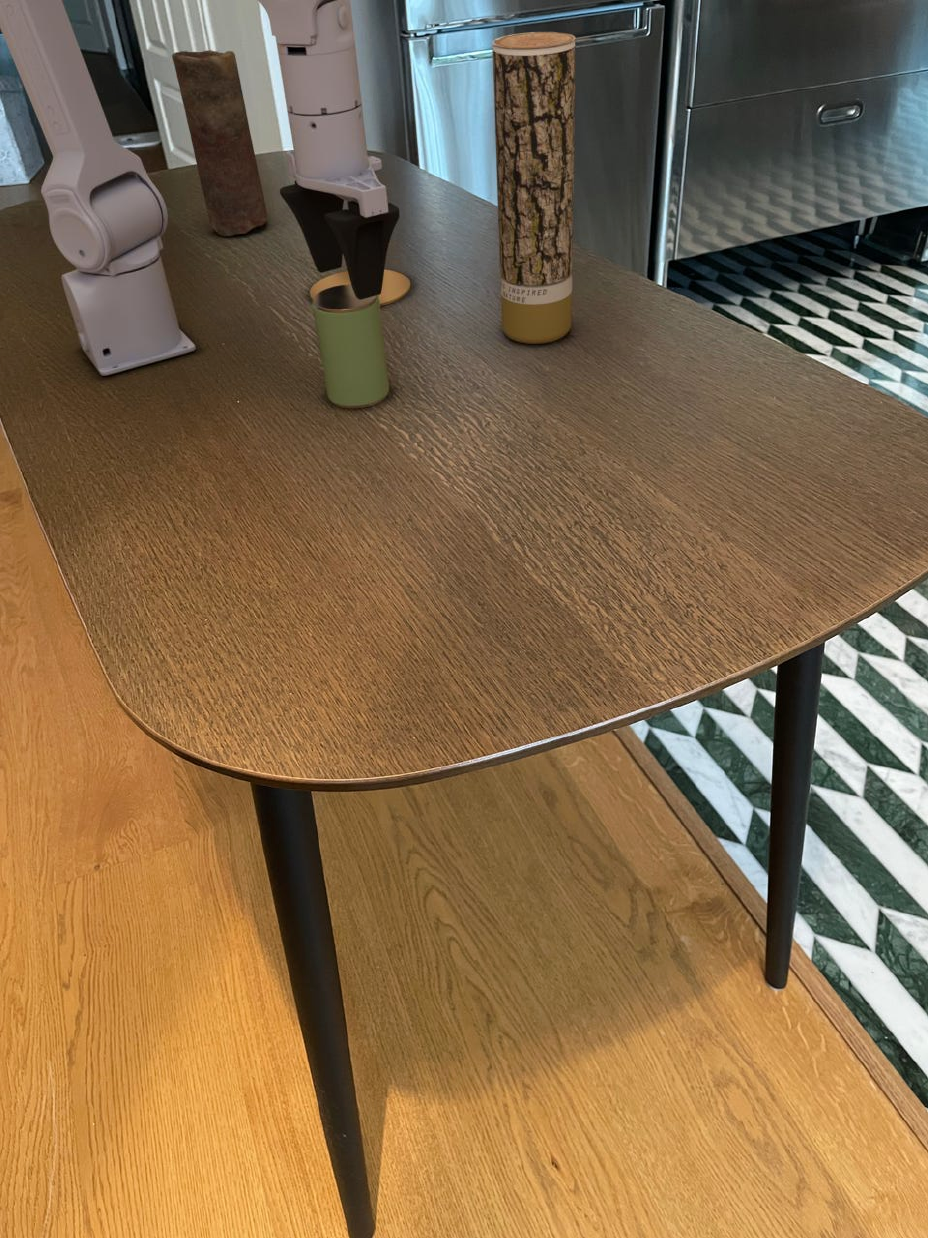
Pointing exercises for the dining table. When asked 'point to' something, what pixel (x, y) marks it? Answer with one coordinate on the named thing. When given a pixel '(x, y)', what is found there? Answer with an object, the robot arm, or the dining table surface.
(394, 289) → the coaster
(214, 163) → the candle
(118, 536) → the dining table surface
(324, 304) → the can
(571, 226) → the paper tube
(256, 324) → the dining table surface
